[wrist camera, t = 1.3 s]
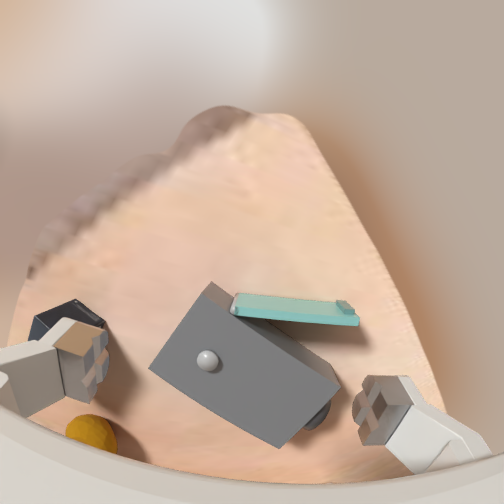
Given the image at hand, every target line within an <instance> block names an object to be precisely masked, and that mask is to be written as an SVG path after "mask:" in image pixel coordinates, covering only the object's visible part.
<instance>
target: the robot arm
mask: <svg viewBox="0 0 504 504" xmlns="http://www.w3.org/2000/svg"><path fill="white" fill-rule="evenodd" d="M108 342H109V340H108V332H107V331H106V330H104V329H101V328H98V327H95V326H92V325H88V324H85V323H82V322H78V321H76V320H73V319H70V318H67V317H64V318H61V319H60V320H59V321H58V322H57V323H56V324H55V325H54V326H53V327H52V328H51V329H50V330H49V331H48V332H47V333H46V334H45V335H44V336H43V337H42V338H41V339H40V340H39V341H36V340H32V341H28V342H24V343H20V344H16V345H13V346H9V347H5V348H1V349H0V504H504V452H503V453H500V454H497V455H493V454H492V452H491V451H490V449H489V448H488V446H487V445H486V443H485V442H484V440H483V439H482V437H481V436H480V435H479V434H478V433H476V432H475V431H473V430H472V429H470V428H468V427H466V426H465V425H463V424H462V423H460V422H458V421H457V420H455V419H454V418H452V417H450V416H449V415H447V414H445V413H444V412H442V411H441V410H439V409H437V408H436V407H434V406H433V405H431V404H429V405H428V404H427V403H426V401H425V400H424V398H423V397H422V395H421V393H420V392H419V390H418V389H417V387H416V386H415V384H414V383H413V381H412V379H411V378H410V377H409V376H407V375H394V376H384V375H368V376H367V377H366V378H365V379H364V381H363V383H362V387H363V390H362V391H361V392H360V393H358V394H357V395H356V397H355V400H354V402H353V407H352V416H353V419H354V422H356V423H357V424H358V425H359V426H360V427H359V429H358V434H359V436H360V439H361V442H362V445H385V447H386V448H387V449H388V450H390V451H391V452H392V453H393V454H394V455H395V456H396V457H397V458H398V459H399V460H400V461H401V462H402V463H403V464H404V465H405V466H406V467H407V468H408V469H409V470H410V471H411V472H412V473H413V474H414V475H412V476H406V477H400V478H392V479H384V480H376V481H365V482H352V483H326V484H287V483H267V482H254V481H244V480H234V479H226V478H219V477H212V476H206V475H200V474H194V473H189V472H184V471H179V470H174V469H169V468H165V467H160V466H156V465H152V464H148V463H144V462H141V461H137V460H133V459H130V458H126V457H123V456H120V455H116V454H113V453H110V452H107V451H104V450H101V449H98V448H95V447H93V446H90V445H87V444H84V443H82V442H79V441H76V440H74V439H71V438H69V437H66V436H64V435H62V434H59V433H57V432H55V431H52V430H50V429H48V428H45V427H43V426H41V425H39V424H37V423H35V422H33V421H31V420H29V419H27V417H29V416H31V415H33V414H35V413H36V412H38V411H40V410H42V409H44V408H46V407H48V406H50V405H52V404H53V403H55V402H57V401H59V400H61V399H63V398H64V397H65V396H67V397H70V398H73V399H76V400H79V401H82V402H85V403H88V404H90V402H91V401H92V399H93V397H94V396H95V394H96V392H97V391H98V390H97V384H98V383H100V382H103V380H104V378H105V377H106V374H107V371H108V367H109V353H108V352H107V350H106V348H105V347H106V345H107V344H108Z"/></svg>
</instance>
